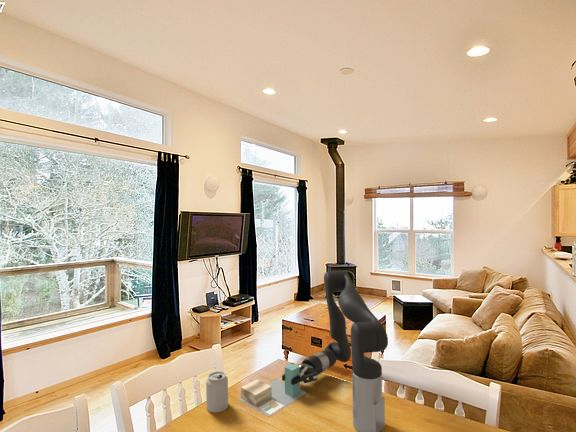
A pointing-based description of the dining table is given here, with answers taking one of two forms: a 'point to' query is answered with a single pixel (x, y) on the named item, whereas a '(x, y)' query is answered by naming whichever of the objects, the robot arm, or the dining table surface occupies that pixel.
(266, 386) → the base block
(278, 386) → the mat
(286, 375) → the pillar
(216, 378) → the can
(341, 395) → the dining table surface
